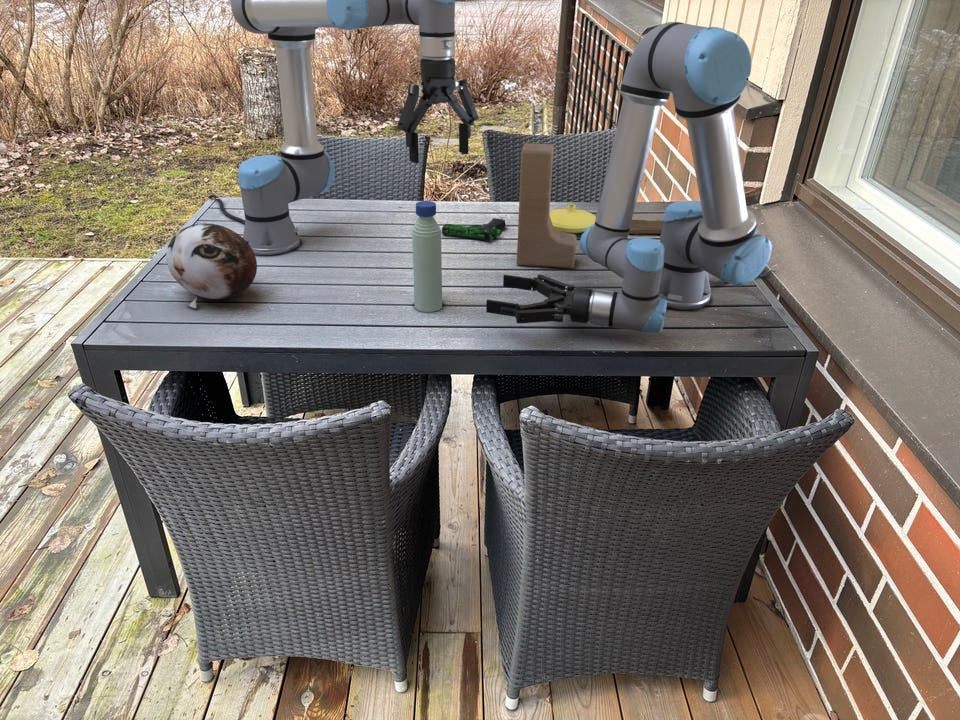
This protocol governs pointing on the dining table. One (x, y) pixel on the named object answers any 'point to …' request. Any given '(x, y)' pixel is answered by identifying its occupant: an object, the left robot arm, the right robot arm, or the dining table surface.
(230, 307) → the dining table surface
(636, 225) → the wooden paddle board
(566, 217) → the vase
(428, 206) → the cap
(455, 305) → the dining table surface
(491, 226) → the handgun
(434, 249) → the bottle
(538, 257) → the decorative block
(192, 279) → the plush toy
